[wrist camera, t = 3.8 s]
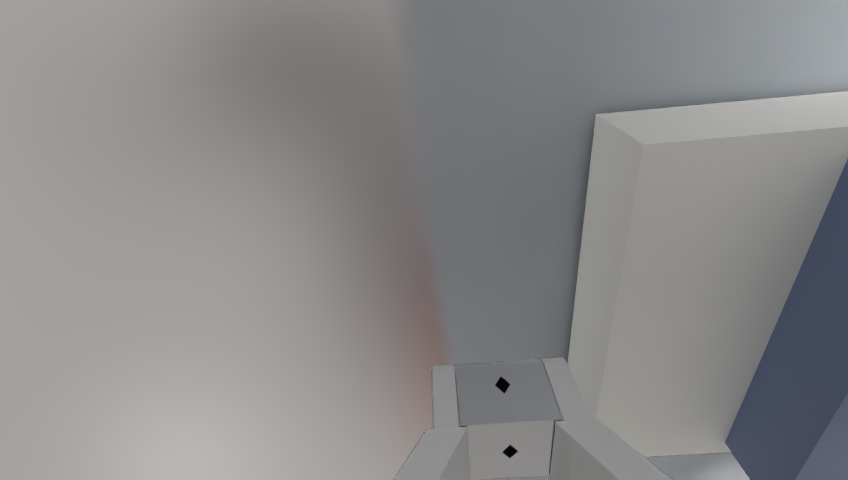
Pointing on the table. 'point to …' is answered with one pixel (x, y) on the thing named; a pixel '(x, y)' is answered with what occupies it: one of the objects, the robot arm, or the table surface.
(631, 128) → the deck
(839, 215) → the tile
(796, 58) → the table surface
